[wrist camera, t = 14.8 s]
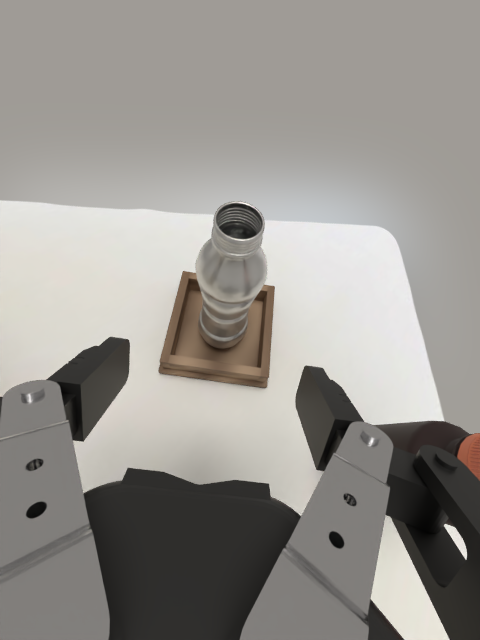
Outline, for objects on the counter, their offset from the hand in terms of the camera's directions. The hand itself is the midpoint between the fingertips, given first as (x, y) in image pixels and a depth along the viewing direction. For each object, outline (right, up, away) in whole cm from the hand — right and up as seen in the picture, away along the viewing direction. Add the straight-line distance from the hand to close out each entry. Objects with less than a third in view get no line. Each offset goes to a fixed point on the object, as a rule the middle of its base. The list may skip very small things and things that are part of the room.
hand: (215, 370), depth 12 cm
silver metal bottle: (-1, +1, +24) cm, 24 cm away
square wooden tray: (-2, +1, +25) cm, 25 cm away
